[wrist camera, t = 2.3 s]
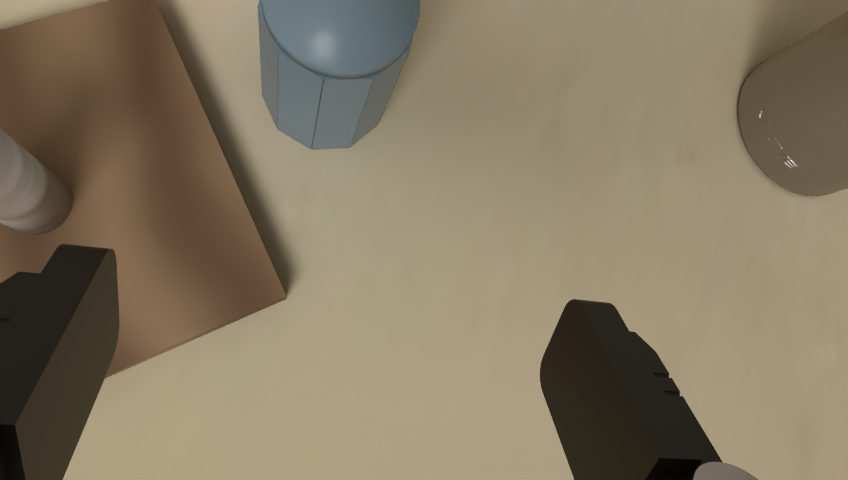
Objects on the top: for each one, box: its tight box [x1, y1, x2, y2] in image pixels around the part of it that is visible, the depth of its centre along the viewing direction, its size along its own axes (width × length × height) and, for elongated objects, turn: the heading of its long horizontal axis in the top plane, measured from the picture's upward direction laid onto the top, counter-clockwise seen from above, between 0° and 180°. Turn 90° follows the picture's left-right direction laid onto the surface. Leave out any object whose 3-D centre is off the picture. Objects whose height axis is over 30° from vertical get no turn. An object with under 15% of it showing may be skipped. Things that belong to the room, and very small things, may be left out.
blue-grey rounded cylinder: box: [258, 0, 420, 149], centre depth 28 cm, size 6×6×9 cm
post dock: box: [0, 0, 286, 378], centre depth 24 cm, size 16×16×8 cm
